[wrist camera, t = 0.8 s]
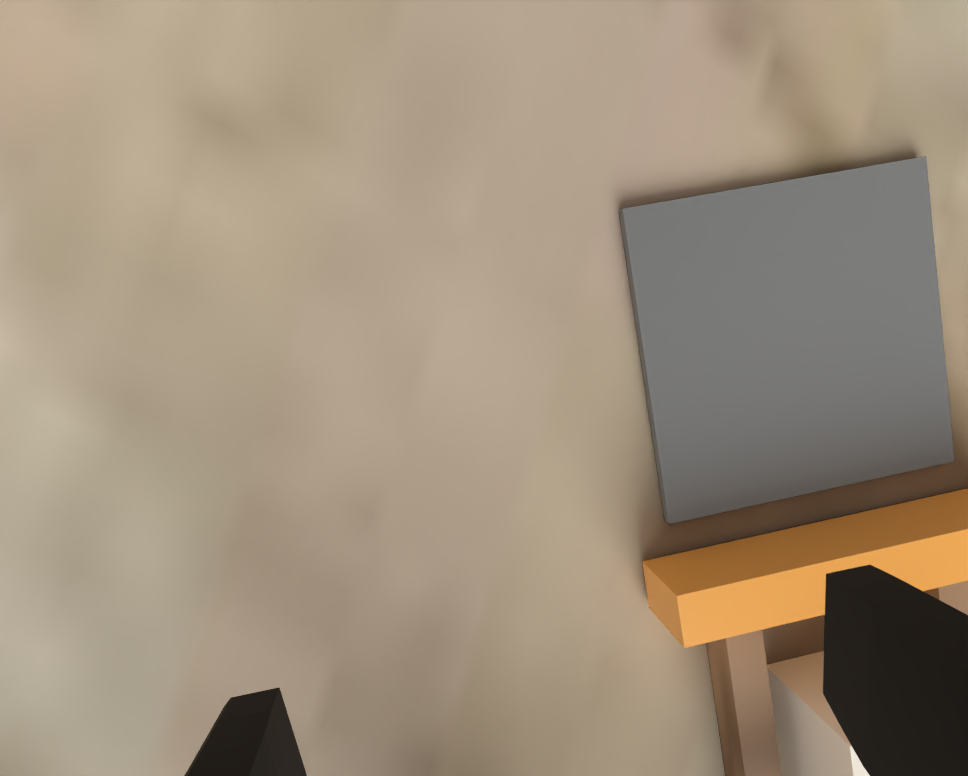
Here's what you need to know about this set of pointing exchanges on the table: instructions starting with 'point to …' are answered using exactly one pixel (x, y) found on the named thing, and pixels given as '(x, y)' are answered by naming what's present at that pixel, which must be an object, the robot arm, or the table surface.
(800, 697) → the white block
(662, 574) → the orange bar
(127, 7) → the table surface
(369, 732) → the table surface
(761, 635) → the walnut channel
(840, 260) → the slate mat
